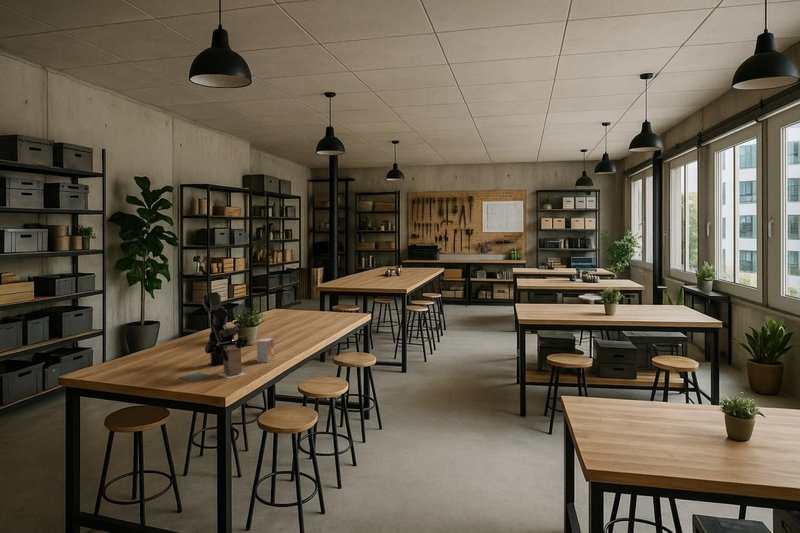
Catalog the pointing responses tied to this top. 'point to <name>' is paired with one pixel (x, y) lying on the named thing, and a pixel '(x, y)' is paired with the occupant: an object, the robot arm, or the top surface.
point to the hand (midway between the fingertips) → (233, 359)
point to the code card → (231, 375)
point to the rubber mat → (195, 377)
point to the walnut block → (232, 361)
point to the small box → (265, 350)
